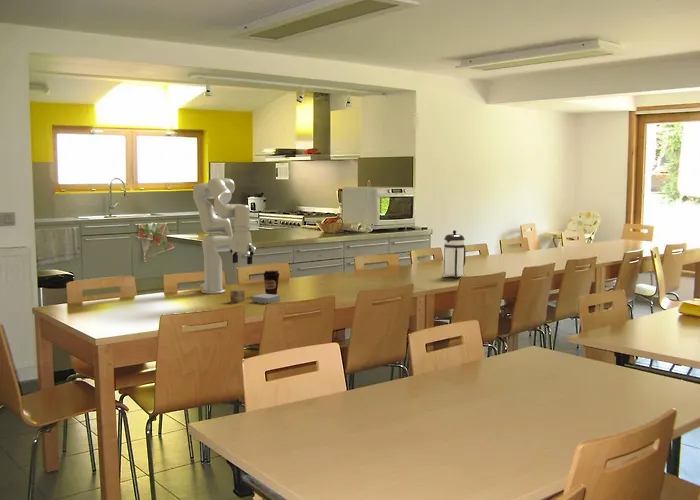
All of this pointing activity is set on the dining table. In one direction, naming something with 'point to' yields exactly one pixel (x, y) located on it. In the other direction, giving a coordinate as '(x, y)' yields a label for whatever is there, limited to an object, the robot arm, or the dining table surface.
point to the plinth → (266, 298)
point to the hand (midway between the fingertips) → (242, 263)
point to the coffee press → (454, 255)
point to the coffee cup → (271, 282)
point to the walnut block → (237, 295)
